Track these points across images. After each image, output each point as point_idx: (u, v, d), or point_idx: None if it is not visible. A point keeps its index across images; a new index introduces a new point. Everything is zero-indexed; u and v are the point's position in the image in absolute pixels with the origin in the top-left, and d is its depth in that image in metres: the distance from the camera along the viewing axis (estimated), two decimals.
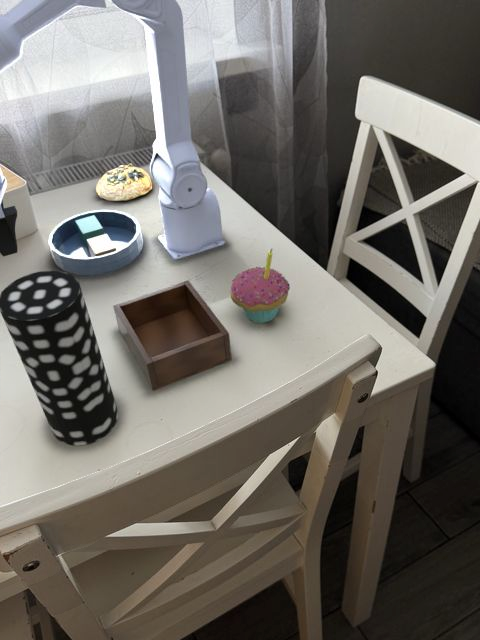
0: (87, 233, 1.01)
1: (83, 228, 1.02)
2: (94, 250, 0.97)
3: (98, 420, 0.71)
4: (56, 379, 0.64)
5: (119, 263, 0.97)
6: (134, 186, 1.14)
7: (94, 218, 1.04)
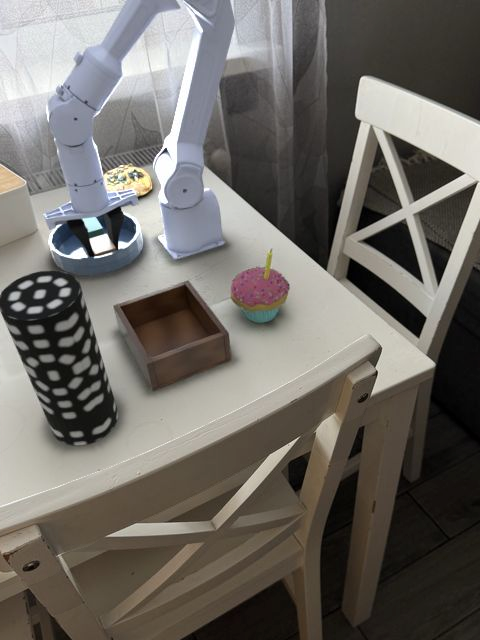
0: None
1: None
2: (94, 250, 0.97)
3: (98, 420, 0.71)
4: (56, 379, 0.64)
5: (119, 263, 0.97)
6: (134, 186, 1.14)
7: (94, 218, 1.04)
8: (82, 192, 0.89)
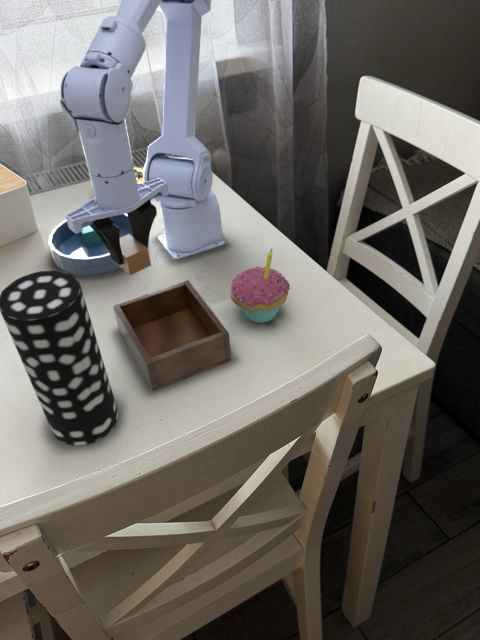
0: (87, 233, 1.01)
1: (83, 228, 1.02)
2: (123, 253, 0.83)
3: (98, 420, 0.71)
4: (56, 379, 0.64)
5: None
6: None
7: None
8: (114, 184, 0.75)
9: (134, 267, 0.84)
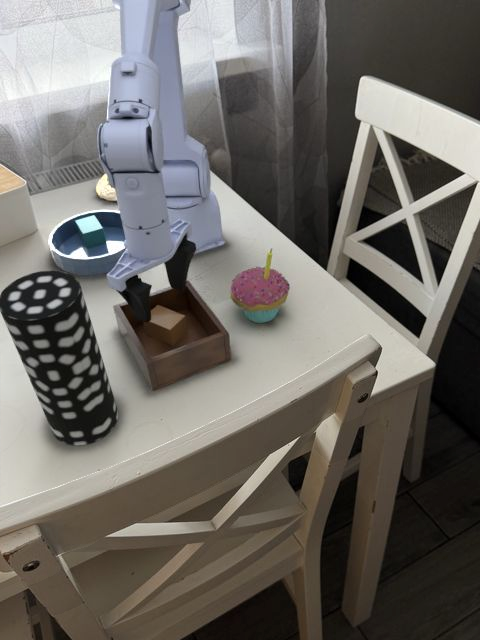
0: (87, 233, 1.01)
1: (83, 228, 1.02)
2: (164, 326, 0.82)
3: (98, 420, 0.71)
4: (56, 379, 0.64)
5: None
6: None
7: (94, 218, 1.04)
8: (155, 234, 0.72)
9: (175, 337, 0.84)
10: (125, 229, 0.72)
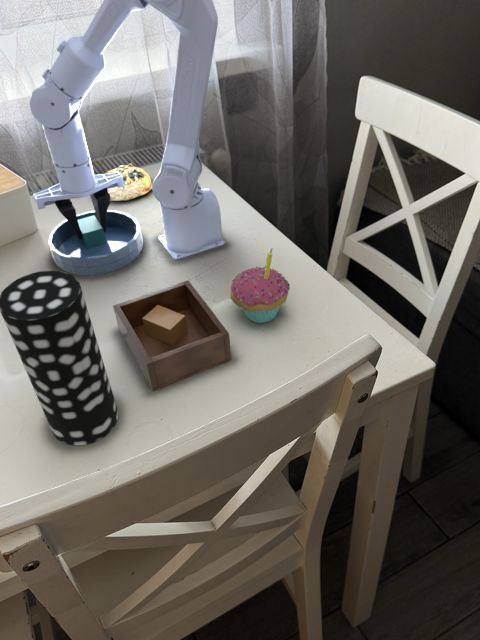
0: (87, 233, 1.01)
1: (83, 228, 1.02)
2: (164, 326, 0.82)
3: (98, 420, 0.71)
4: (56, 379, 0.64)
5: (119, 263, 0.97)
6: (134, 186, 1.14)
7: (94, 218, 1.04)
8: (69, 173, 0.93)
9: (175, 337, 0.84)
10: None
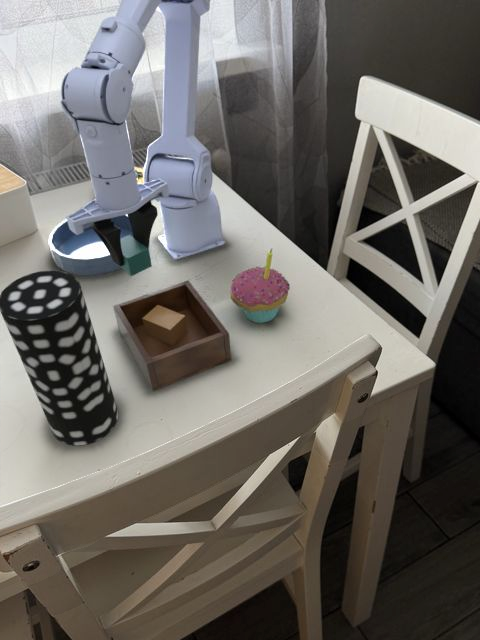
0: (132, 257, 0.82)
1: (124, 251, 0.83)
2: (164, 326, 0.82)
3: (98, 420, 0.71)
4: (56, 379, 0.64)
5: None
6: None
7: (131, 238, 0.85)
8: (115, 185, 0.75)
9: (175, 337, 0.84)
10: (90, 176, 0.76)
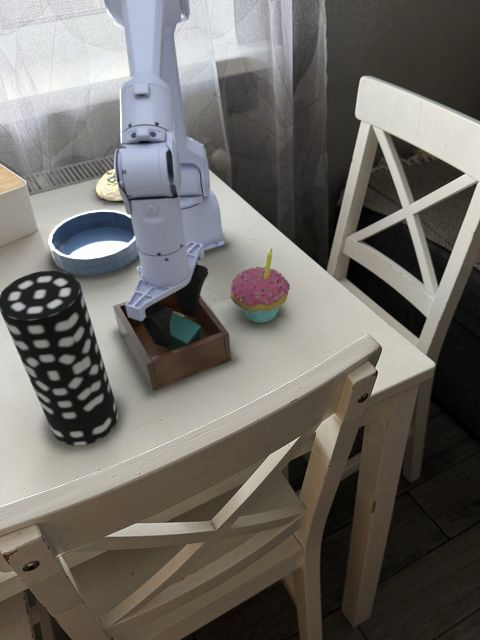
0: (190, 340, 0.78)
1: (179, 334, 0.78)
2: None
3: (98, 420, 0.71)
4: (56, 379, 0.64)
5: (119, 263, 0.97)
6: None
7: (175, 314, 0.80)
8: (174, 259, 0.69)
9: None
10: (142, 256, 0.69)
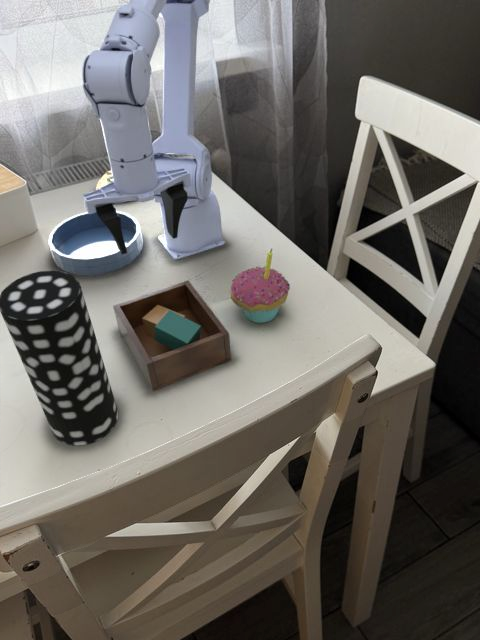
0: (190, 340, 0.78)
1: (179, 334, 0.78)
2: None
3: (98, 420, 0.71)
4: (56, 379, 0.64)
5: (119, 263, 0.97)
6: None
7: (175, 314, 0.80)
8: None
9: None
10: (153, 154, 0.77)
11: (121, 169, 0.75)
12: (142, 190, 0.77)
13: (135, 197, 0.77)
